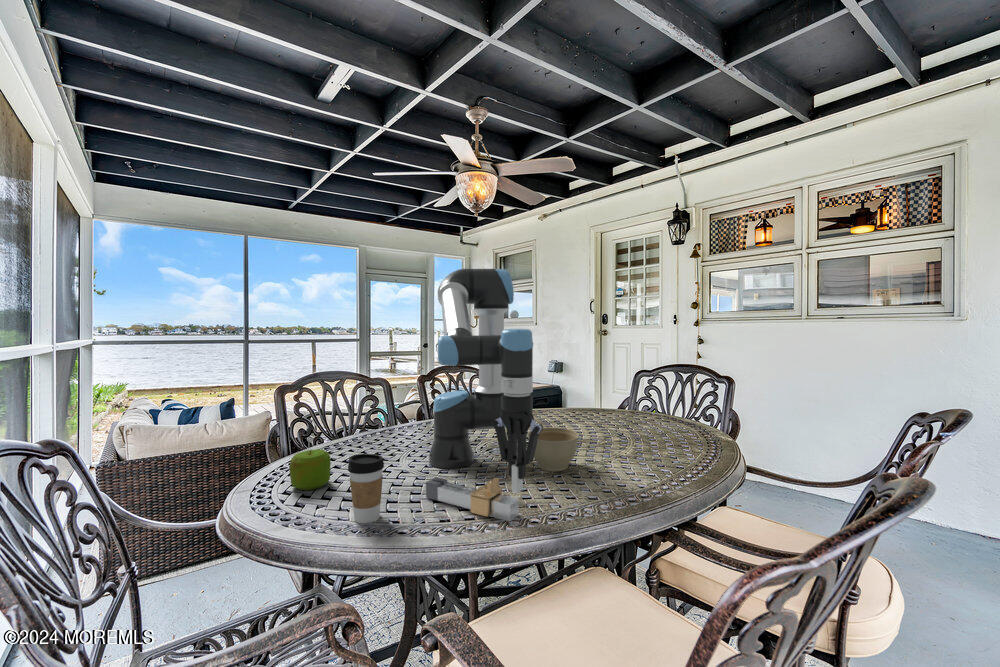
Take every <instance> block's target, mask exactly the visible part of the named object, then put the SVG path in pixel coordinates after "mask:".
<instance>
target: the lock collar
mask: <svg viewBox="0 0 1000 667" xmlns="http://www.w3.org/2000/svg"><path fill="white" fill-rule="evenodd" d="M476 489H477V490H475V491H473V492H472V493H471V509H470V513H472V514H476V515H479V516H483V517H487V518H488V517H491V516H490V514H489V499H491V498H492V497H494V496H495V495H497V494H500V495H503V487H500V477H494V478H492V479H490V480H489V481H487V482H486V484H484V485H482V486H480V487H479V488H476Z"/></svg>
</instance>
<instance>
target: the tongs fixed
mask: <svg viewBox="0 0 1000 667" xmlns="http://www.w3.org/2000/svg"><path fill="white" fill-rule="evenodd" d="M471 493H472V492H469V491H465V490H461V489H457V488H453V487H449V486H444V485H442V483H441V482H437V481H433V480H432V479H430V480H427V481H425V497H426V498H427V499H430V500H435V501H437V502H441V503H446V504H449V505H453V506H457V507H461V508H464V509H468V510H471ZM519 502H520V500H519V498H516V497H512V496H508V495H504V494H502V495H500V494H497V495H495V496H494V497H492V498H491V499H489V514H490V516H489V517H492V518H495V519H499V520H502V521H506V522H511V521H513V520H514V519H516V517H518V516H520V514H519V510H520V504H519Z"/></svg>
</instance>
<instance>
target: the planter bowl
mask: <svg viewBox="0 0 1000 667" xmlns="http://www.w3.org/2000/svg"><path fill="white" fill-rule="evenodd" d="M531 432H532V431H531V430H530V431H528V432H527V437H528V438H529V437H530V434H531ZM578 440H579V434H578V432H576V431H575V430H571V429H568V428H562V427H543V429H542V430H541V432H540V433H539V437H538V441H537V446H536V450H535V454H534V460H535V461H536V463H537V466H538V468H539V469H541V470H543V471H547V472H562V471H565V470H567V469H568V468H569V464H570V463H571V461H572V460H573V458H574V457H575V455H576V452H577V449H578V443H579V442H578Z"/></svg>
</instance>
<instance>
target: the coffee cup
mask: <svg viewBox="0 0 1000 667" xmlns="http://www.w3.org/2000/svg"><path fill="white" fill-rule="evenodd" d="M383 458H384V457H383V456H382V455H379V454H374V453H360V454H353V455H351V456H349V458H348V465H347V471H348V472H349V476H350V477H349V484H350V492H351V502H352V509H353V518H354V521H355V522H356V523H357V524H370V523H373V522H375V521H377V519H378V520H379V519H380V515H381V504H382V503H381V502H382V492H383V491H382V489H383V479H384V478H383V477H384V476H383V469H384V467H385V462H384V459H383Z"/></svg>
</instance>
